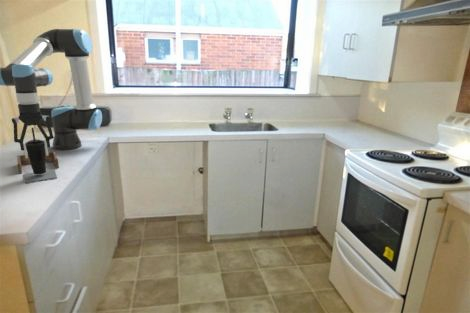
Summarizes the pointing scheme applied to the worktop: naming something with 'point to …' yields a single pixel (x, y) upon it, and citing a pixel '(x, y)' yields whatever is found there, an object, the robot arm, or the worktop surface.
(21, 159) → the open wooden frame
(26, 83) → the robot arm
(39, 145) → the drinking cup
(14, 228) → the worktop surface
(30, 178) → the mat
